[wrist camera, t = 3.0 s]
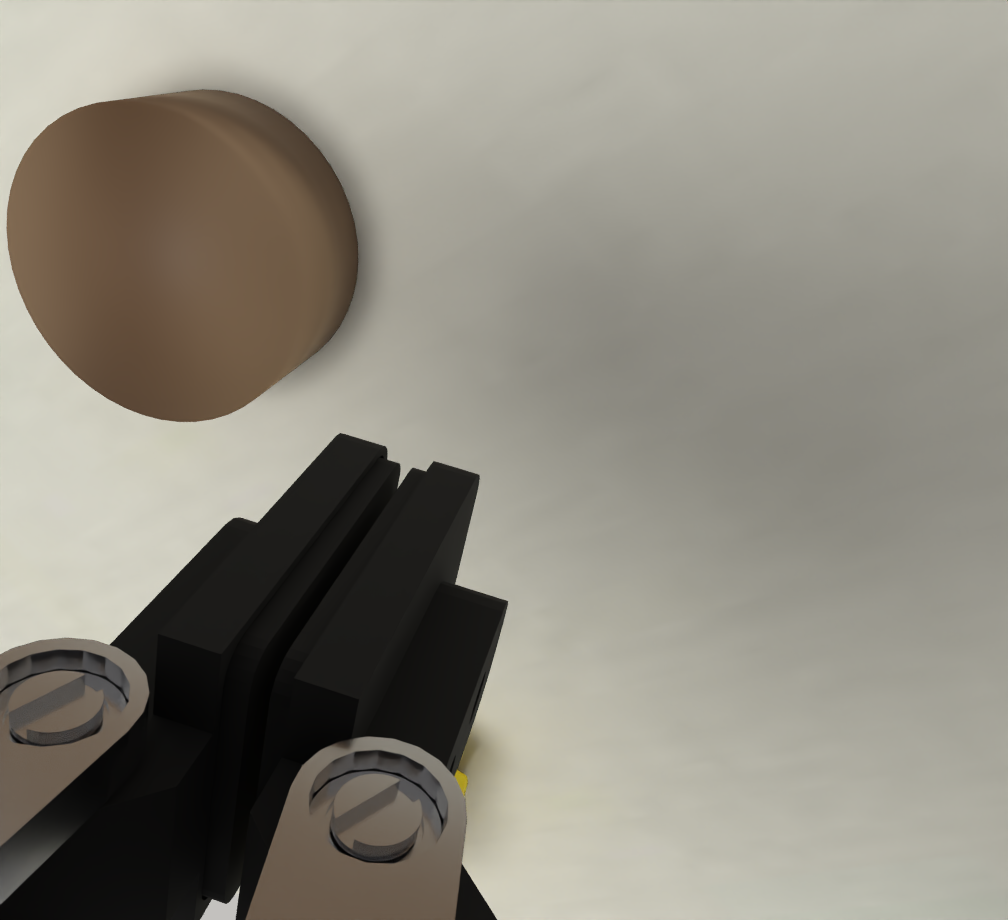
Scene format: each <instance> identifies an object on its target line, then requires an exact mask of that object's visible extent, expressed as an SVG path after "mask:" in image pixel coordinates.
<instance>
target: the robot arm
mask: <svg viewBox="0 0 1008 920" xmlns="http://www.w3.org/2000/svg"><path fill="white" fill-rule="evenodd" d="M399 477H400V464H399V463H396V462H393V461H389V460H387V448H386V447H385V446H382V445H379V444H375V443H372V442H369V441H366V440H362V439H359V438H356V437H352V436H349V435H346V434H342V433H340V434H338V435H337V436H336V437H335V438H334V439H333V440H332V441H331V442H330V443H329V445H328V446H327V447H326V448H325V449H324V450H323V451H322V452H321V453H320V455H319V456H318V457H317V458H316V459H315V460H314V461H313V462H312V463H311V465H310V466H309V467H308V468H307V469H306V470H305V471H304V472H303V473H302V474H301V476H300V477H299V478H298V479H297V480H296V481H295V482H294V483H293V484H292V486H291V487H290V488H289V489H288V490H287V491H286V492H285V493H284V494H283V496H282V497H281V498H280V499H279V500H278V501H277V502H276V503H275V504H274V506H273V507H272V508H271V509H270V510H269V511H268V512H267V513H266V514H265V516H264V517H263V518H262V519H261V520H260V521H259V522H258V523H256V522H253V521H250V520H246V519H243V518H233V519H232V520H231V521H229V522H228V523H227V524H226V525H225V526H224V527H223V528H222V529H221V530H220V531H219V532H218V533H217V534H216V535H215V536H214V537H213V538H212V539H211V540H210V541H209V542H208V543H207V544H206V545H205V546H204V547H203V548H202V549H201V550H200V552H199V553H198V554H197V555H196V556H195V557H194V558H193V559H192V560H191V561H190V562H189V563H188V564H187V565H186V566H185V567H184V568H183V569H182V570H181V571H180V572H179V573H178V574H177V575H176V576H175V578H174V579H173V580H172V581H171V582H170V583H169V584H168V585H167V586H166V587H165V588H164V589H163V590H162V591H161V592H160V593H159V594H158V595H157V596H156V597H155V598H154V599H153V600H152V601H151V602H150V604H149V605H148V606H147V607H146V608H145V609H144V610H143V611H142V612H141V613H140V614H139V615H138V616H137V617H136V618H135V619H134V620H133V621H132V622H131V623H130V624H129V625H128V626H127V627H126V628H125V630H124V631H123V632H122V633H121V634H120V635H119V636H118V637H117V638H116V639H115V640H114V641H113V642H112V643H111V644H110V645H107V644H104V643H101V642H98V641H95V640H87V639H76V638H59V639H49V640H39V641H36V642H32V643H29V644H25V645H22V646H18V647H15V648H12V649H10V650H8V651H6V652H4V653H2V654H0V920H200V919H201V917H202V915H203V914H204V912H205V910H206V908H207V907H208V905H209V903H210V901H211V900H212V899H214V900H217V901H219V902H222V903H225V904H227V903H229V902H230V900H231V899H232V898H233V896H234V895H235V893H236V891H237V890H238V888H239V886H240V891H239V899H238V906H237V914H236V920H497V919H496V917H495V916H494V914H493V912H492V911H491V909H490V908H489V906H488V904H487V903H486V901H485V900H484V898H483V896H482V895H481V893H480V892H479V890H478V889H477V887H476V885H475V884H474V882H473V881H472V879H471V877H470V876H469V874H468V873H467V871H466V869H465V868H464V866H463V865H462V857H463V849H464V841H465V833H466V824H467V816H466V802H465V797H464V795H463V793H462V791H461V789H460V786H459V784H458V782H457V780H456V778H455V777H454V776H455V774H456V771H457V768H458V765H459V762H460V759H461V757H462V754H463V751H464V748H465V745H466V742H467V739H468V737H469V734H470V731H471V728H472V725H473V722H474V719H475V716H476V713H477V710H478V707H479V704H480V701H481V698H482V694H483V691H484V688H485V685H486V682H487V678H488V675H489V672H490V668H491V665H492V661H493V658H494V654H495V651H496V647H497V643H498V640H499V636H500V632H501V629H502V625H503V621H504V618H505V614H506V610H507V605H508V601H506V600H502V599H499V598H496V597H493V596H490V595H486V594H483V593H480V592H477V591H474V590H470V589H467V588H464V587H461V586H458V585H455V582H456V578H457V574H458V570H459V566H460V561H461V557H462V553H463V549H464V545H465V541H466V536H467V532H468V528H469V524H470V520H471V516H472V511H473V507H474V503H475V499H476V495H477V490H478V486H479V479H480V476H479V475H478V474H475V473H472V472H468V471H465V470H462V469H458V468H455V467H452V466H448V465H445V464H442V463H439V462H435V461H433V463H432V464H431V465H430V467H429V468H428V470H427V471H422V470H419V469H416V468H412V469H411V470H410V471H409V473H408V474H407V476H406V477H405V479H404V480H403V482H402V483H401V485H400V486H399V488H398V489H397V487H398V482H399Z"/></svg>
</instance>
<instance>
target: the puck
mask: <svg viewBox="0 0 1008 920" xmlns="http://www.w3.org/2000/svg"><path fill="white" fill-rule="evenodd" d="M7 239H8V250H9V255H10V260H11V265H12V270H13V273H14V276H15V280H16V283H17V286H18V289H19V292H20V294H21V296H22V299H23V301H24V304H25V306H26V308H27V310H28V312H29V314H30V316H31V318H32V319H33V321H34V323H35V325H36V327H37V328H38V330H39V331H40V333H41V334H42V336H43V337H44V339H45V340H46V342H47V343H48V345H49V346H50V347H51V348H52V350H53V351H54V352H55V353H56V354H57V356H58V357H59V358H60V359H61V360H62V361H63V362H64V363H65V364H66V365H67V366H68V368H69V369H70V370H71V371H72V372H73V373H74V374H75V375H77V376H78V377H79V378H80V379H81V380H83V381H84V382H85V383H86V384H87V385H89V386H90V387H91V388H92V389H94V390H95V391H97V392H98V393H100V394H101V395H103V396H104V397H106V398H107V399H109V400H111V401H113V402H115V403H117V404H119V405H121V406H123V407H124V408H127V409H129V410H132V411H134V412H137V413H139V414H142V415H145V416H149V417H153V418H157V419H161V420H169V421H176V422H197V421H204V420H210V419H215V418H218V417H221V416H225V415H228V414H230V413H232V412H234V411H236V410H238V409H240V408H242V407H244V406H246V405H247V404H249V403H250V402H251V401H253V400H254V399H256V398H257V397H258V396H260V395H261V394H262V393H264V392H265V391H266V390H268V389H269V388H270V387H272V386H273V385H274V384H275V383H277V382H278V381H279V380H281V379H282V378H283V377H285V376H286V375H287V374H289V373H290V372H291V371H293V370H294V369H295V368H297V367H298V366H299V365H301V364H302V363H303V362H304V361H306V360H307V359H308V358H310V357H311V356H312V355H314V354H315V353H316V352H318V351H319V350H320V349H321V348H322V347H323V346H324V345H325V344H326V343H327V342H328V341H329V340H330V339H331V337H332V336H333V335H334V333H335V332H336V331H337V330H338V328H339V327H340V325H341V323H342V321H343V319H344V317H345V316H346V314H347V312H348V309H349V306H350V303H351V301H352V298H353V294H354V290H355V285H356V281H357V271H358V242H357V236H356V229H355V223H354V220H353V216H352V213H351V209H350V205H349V203H348V200H347V198H346V195H345V193H344V190H343V188H342V185H341V184H340V182H339V180H338V178H337V176H336V174H335V173H334V171H333V169H332V167H331V166H330V164H329V163H328V161H327V160H326V159H325V157H324V156H323V154H322V153H321V152H320V150H319V149H318V148H317V147H316V146H315V145H314V143H313V142H312V141H311V140H310V139H309V138H308V137H307V136H306V134H304V133H303V132H302V131H301V130H300V129H299V128H298V127H296V126H295V125H294V124H293V123H292V122H291V121H290V120H288V119H287V118H285V117H284V116H282V115H281V114H279V113H278V112H276V111H275V110H274V109H272V108H270V107H268V106H266V105H264V104H262V103H260V102H258V101H256V100H253V99H250V98H248V97H245V96H242V95H239V94H235V93H230V92H225V91H220V90H193V91H184V92H176V93H168V94H161V95H153V96H146V97H138V98H130V99H123V100H115V101H107V102H100V103H95V104H91V105H88V106H84V107H80V108H78V109H76V110H74V111H71V112H69V113H67V114H65V115H63V116H61V117H60V118H59V119H57V120H56V121H54V122H53V123H52V124H50V125H49V126H47V127H46V129H45V130H44V131H43V132H42V133H41V134H40V135H39V136H38V137H37V138H36V139H35V140H34V141H33V143H32V144H31V146H30V147H29V148H28V150H27V151H26V153H25V154H24V156H23V158H22V160H21V162H20V164H19V167H18V169H17V171H16V174H15V177H14V180H13V183H12V186H11V190H10V196H9V202H8V208H7Z"/></svg>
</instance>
